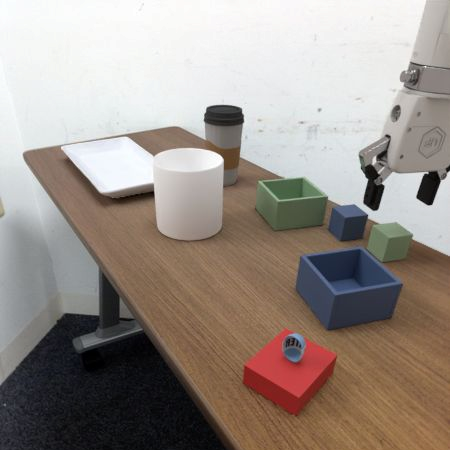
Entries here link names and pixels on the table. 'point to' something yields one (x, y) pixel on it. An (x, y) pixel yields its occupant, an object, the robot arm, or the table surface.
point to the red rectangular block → (289, 370)
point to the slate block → (347, 222)
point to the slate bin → (347, 287)
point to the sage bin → (291, 203)
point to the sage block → (389, 242)
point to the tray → (114, 165)
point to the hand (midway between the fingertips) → (397, 204)
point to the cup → (188, 193)
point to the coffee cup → (225, 137)
